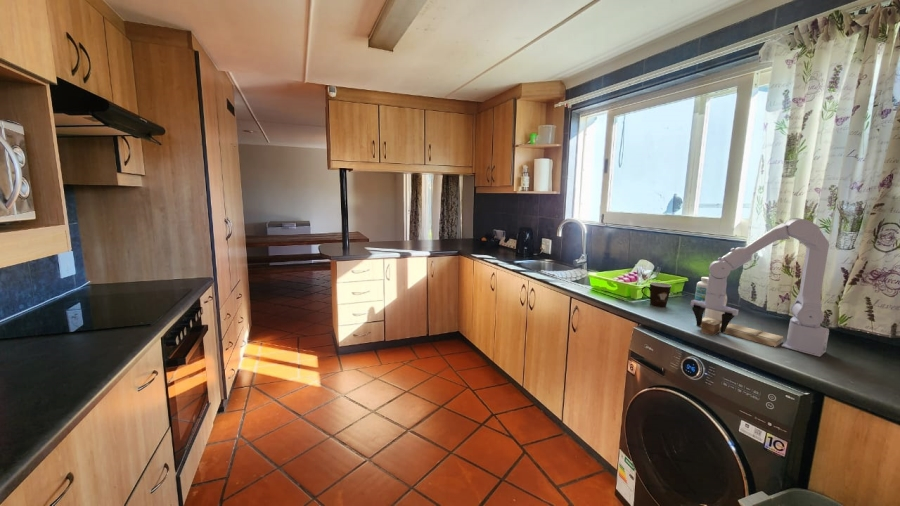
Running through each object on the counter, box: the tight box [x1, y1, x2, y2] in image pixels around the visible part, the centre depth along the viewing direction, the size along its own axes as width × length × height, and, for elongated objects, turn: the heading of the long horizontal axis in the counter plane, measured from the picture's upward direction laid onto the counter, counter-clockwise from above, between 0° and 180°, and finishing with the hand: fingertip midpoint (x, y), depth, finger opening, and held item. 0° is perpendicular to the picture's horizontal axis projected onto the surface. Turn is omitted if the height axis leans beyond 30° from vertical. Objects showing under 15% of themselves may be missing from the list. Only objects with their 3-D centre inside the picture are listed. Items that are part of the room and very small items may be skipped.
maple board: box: [699, 316, 784, 348], centre depth 134 cm, size 24×8×2 cm, turn 34°
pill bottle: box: [694, 276, 709, 302], centre depth 167 cm, size 8×7×14 cm
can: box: [704, 292, 728, 321], centre depth 148 cm, size 6×6×12 cm
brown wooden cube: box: [700, 320, 720, 336], centre depth 135 cm, size 4×5×4 cm
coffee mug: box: [640, 281, 672, 309], centre depth 168 cm, size 12×9×10 cm
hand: (710, 328), depth 135 cm, fingers open, 7 cm apart
